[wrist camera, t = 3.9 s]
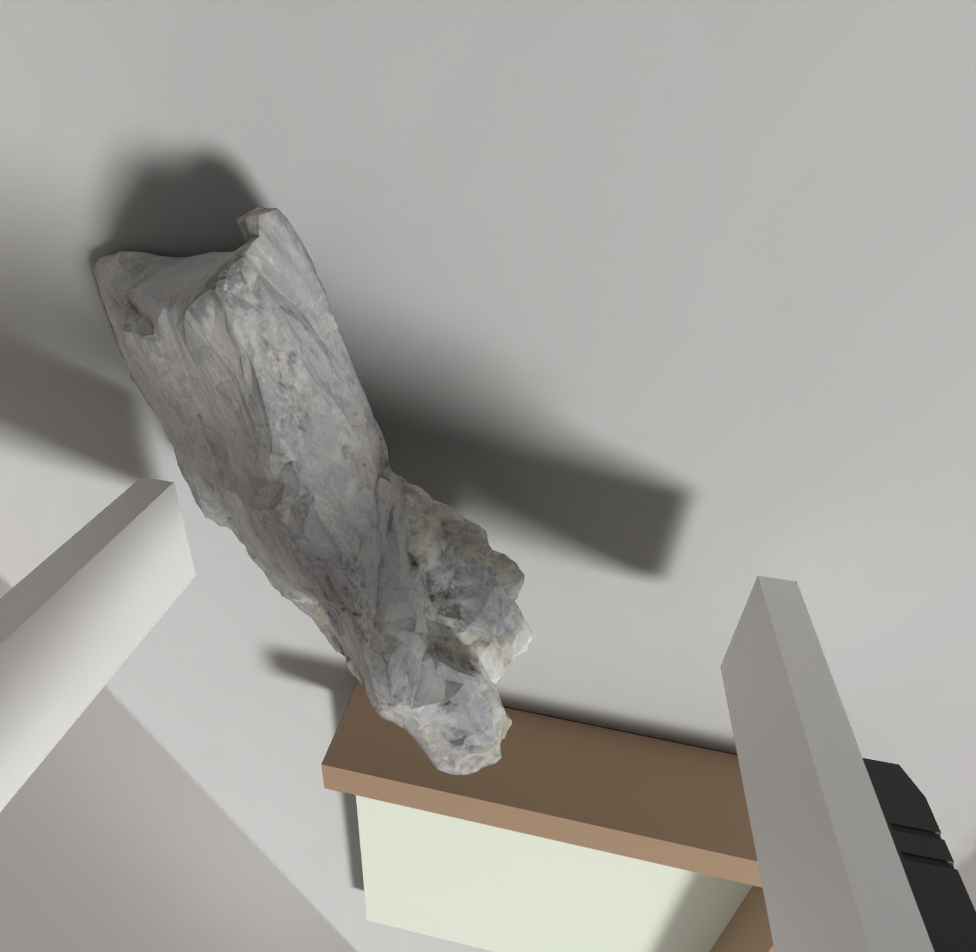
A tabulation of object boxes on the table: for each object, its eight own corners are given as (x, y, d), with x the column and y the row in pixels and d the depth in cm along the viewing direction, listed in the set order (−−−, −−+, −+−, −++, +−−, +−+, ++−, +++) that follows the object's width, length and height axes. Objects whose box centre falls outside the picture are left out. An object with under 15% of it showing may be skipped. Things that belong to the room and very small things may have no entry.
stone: (379, 659, 18) (293, 787, 15) (96, 273, 14) (-100, 340, 11) (572, 639, 15) (512, 800, 12) (271, 120, 11) (55, 153, 8)
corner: (359, 677, 20) (321, 764, 18) (843, 776, 18) (876, 888, 16) (374, 895, 29) (350, 974, 26) (705, 976, 27) (713, 1069, 24)
